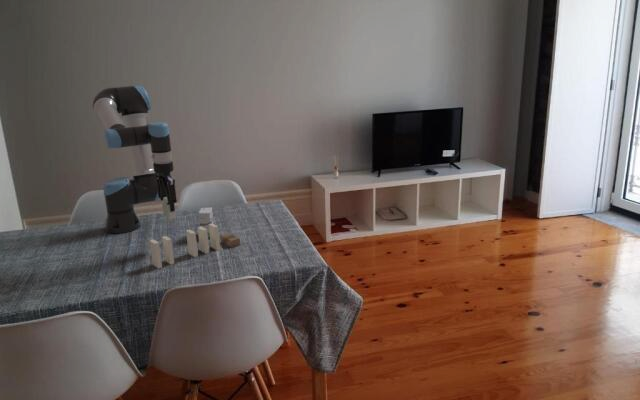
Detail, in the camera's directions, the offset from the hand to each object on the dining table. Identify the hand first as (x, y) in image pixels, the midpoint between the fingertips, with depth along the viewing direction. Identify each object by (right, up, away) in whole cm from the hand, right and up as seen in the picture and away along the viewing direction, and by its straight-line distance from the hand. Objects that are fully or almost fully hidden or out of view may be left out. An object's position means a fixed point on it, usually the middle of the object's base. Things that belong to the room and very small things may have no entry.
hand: (169, 216), depth 207 cm
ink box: (+12, -9, +15) cm, 22 cm away
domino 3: (+4, -17, -12) cm, 21 cm away
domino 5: (+15, -14, -3) cm, 21 cm away
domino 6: (+19, -13, 0) cm, 23 cm away
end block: (+24, -11, +5) cm, 27 cm away
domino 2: (0, -2, +1) cm, 2 cm away
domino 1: (0, -18, -15) cm, 24 cm away
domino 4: (+11, -15, -6) cm, 20 cm away
